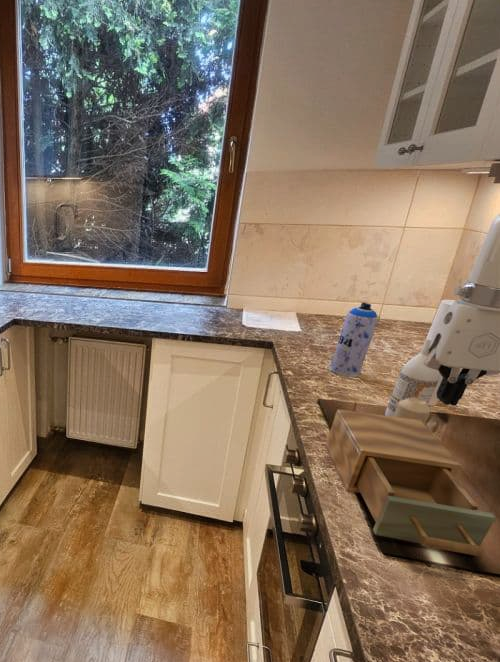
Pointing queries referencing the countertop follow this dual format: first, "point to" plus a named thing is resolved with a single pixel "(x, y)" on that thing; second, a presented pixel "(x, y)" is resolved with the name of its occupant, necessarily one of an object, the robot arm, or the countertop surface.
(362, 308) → the aerosol can
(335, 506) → the countertop surface
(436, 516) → the drawer
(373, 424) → the cabinet
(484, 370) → the robot arm
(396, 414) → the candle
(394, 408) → the bath foam
